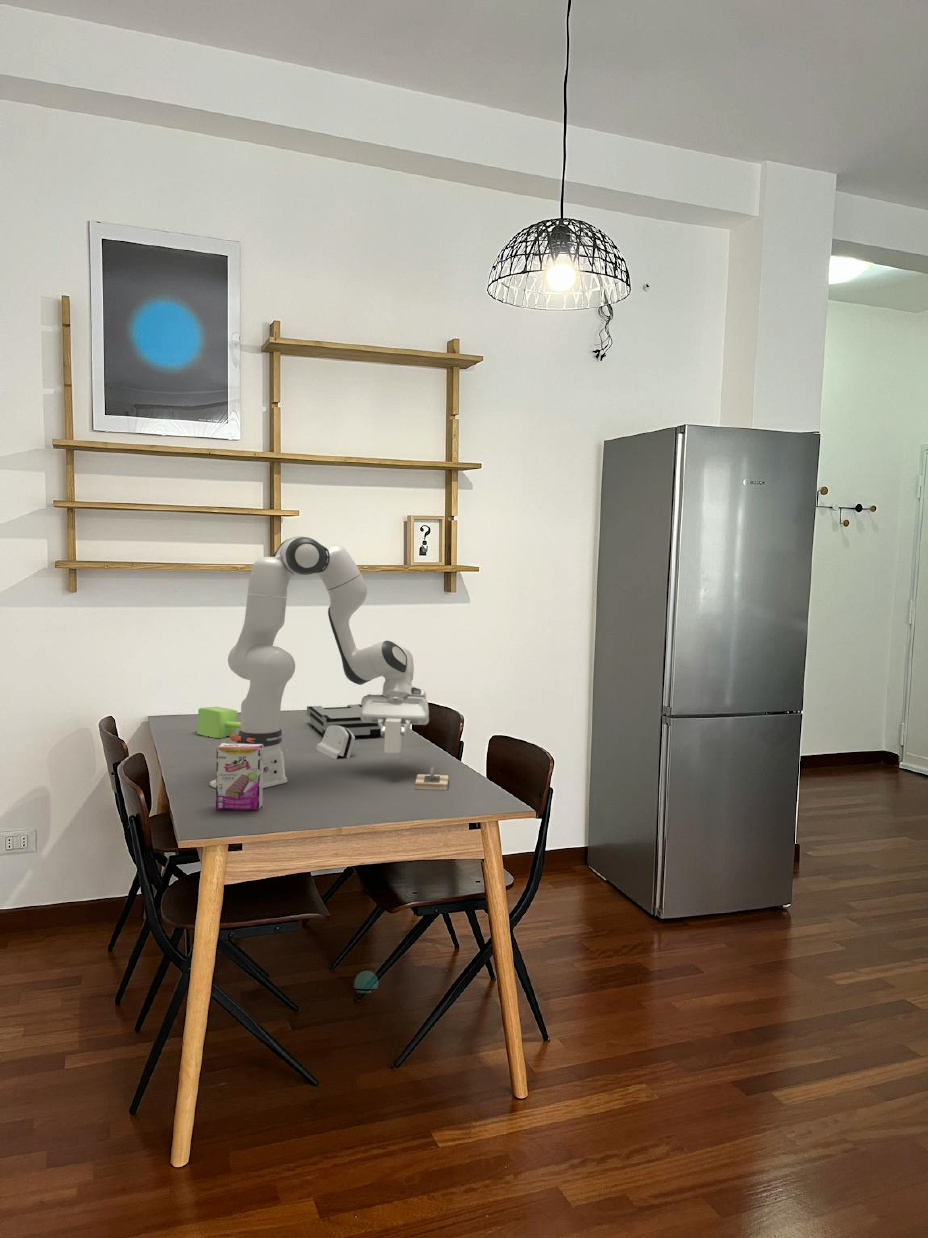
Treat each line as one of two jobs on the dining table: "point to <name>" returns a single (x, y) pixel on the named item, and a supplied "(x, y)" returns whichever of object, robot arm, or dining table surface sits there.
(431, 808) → the dining table surface
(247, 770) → the candy bar box
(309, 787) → the dining table surface
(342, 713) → the office tray
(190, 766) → the dining table surface
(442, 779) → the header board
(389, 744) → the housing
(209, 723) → the gearbox
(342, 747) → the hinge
